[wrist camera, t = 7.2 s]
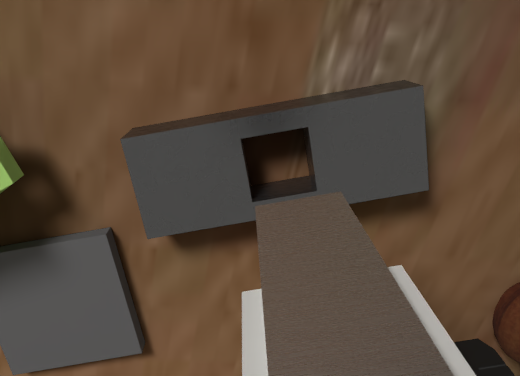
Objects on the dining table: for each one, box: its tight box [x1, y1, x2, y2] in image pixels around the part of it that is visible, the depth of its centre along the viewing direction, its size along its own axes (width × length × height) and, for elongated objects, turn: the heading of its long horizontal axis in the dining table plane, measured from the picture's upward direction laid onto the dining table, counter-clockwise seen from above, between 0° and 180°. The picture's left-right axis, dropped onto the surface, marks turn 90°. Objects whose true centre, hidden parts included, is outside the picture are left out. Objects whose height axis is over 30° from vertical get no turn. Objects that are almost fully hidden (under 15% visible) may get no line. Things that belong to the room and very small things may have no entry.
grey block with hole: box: [120, 80, 429, 239], centre depth 36 cm, size 8×22×4 cm, turn 100°
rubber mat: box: [0, 227, 145, 375], centre depth 41 cm, size 12×12×2 cm
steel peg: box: [255, 192, 454, 376], centre depth 15 cm, size 4×4×15 cm
